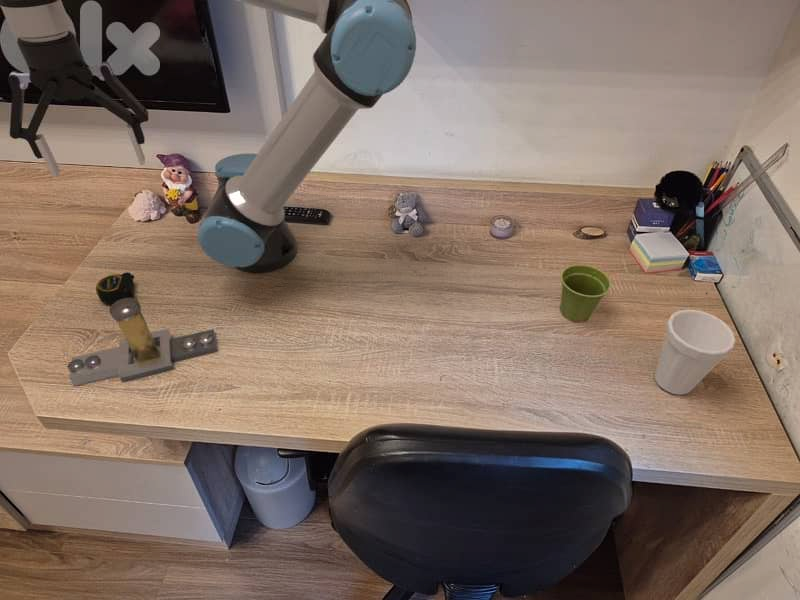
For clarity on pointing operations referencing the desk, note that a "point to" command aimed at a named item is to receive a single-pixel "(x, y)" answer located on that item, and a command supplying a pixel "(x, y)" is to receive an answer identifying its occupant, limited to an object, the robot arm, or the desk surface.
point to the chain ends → (122, 361)
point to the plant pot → (582, 291)
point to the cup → (691, 349)
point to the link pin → (134, 329)
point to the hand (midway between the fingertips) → (100, 167)
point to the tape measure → (115, 288)
